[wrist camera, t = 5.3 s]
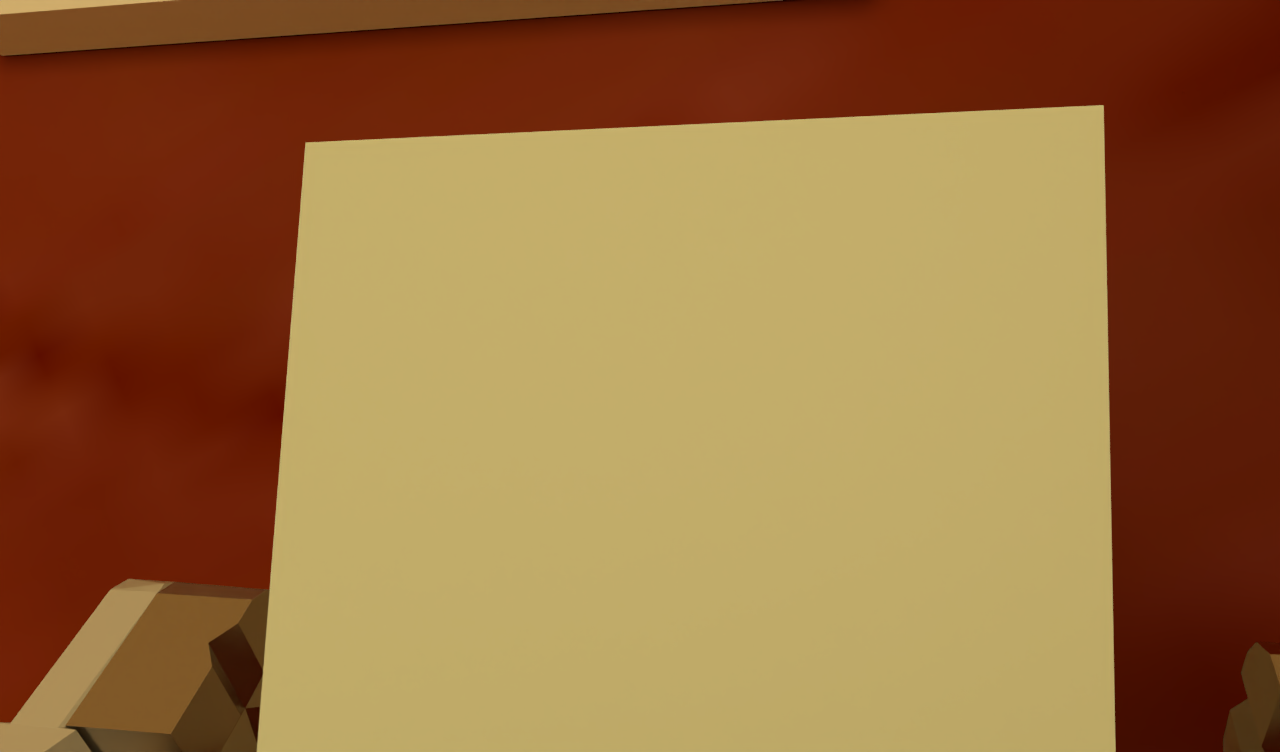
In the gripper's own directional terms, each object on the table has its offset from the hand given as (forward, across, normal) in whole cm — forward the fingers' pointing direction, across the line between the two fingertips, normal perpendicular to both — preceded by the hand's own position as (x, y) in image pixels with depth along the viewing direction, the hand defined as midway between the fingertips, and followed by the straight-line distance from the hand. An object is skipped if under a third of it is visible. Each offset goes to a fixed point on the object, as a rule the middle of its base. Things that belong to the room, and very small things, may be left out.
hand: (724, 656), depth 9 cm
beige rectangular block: (+6, 0, +4) cm, 7 cm away
